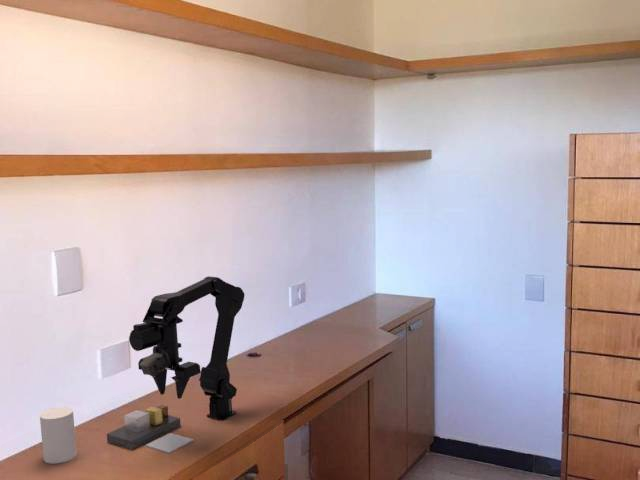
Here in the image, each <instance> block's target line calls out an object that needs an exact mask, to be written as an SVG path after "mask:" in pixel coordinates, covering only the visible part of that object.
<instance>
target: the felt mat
mask: <svg viewBox="0 0 640 480" xmlns="http://www.w3.org/2000/svg"><path fill="white" fill-rule="evenodd" d="M191 441H192V442H194V439H192V438H190V437H186V436H182V435H180V434H176V433H171V432H168V433H166V434H164V435H162V436H160V437H158V438H156V439H154V440H152V441H150V442H148V443H146V444H145V447H147V448H150V449H153V450H156V451H161V452H163V453H165V454H166V453H167V454H171V453H173V452H176V451H177V450H179V449H181V448H182V446H183V447H184V445H185V446H186V445H188V444H190V443H192V442H191ZM189 442H190V443H189ZM187 443H188V444H187ZM180 447H181V448H180Z"/></svg>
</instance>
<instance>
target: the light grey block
mask: <svg viewBox="0 0 640 480" xmlns="http://www.w3.org/2000/svg"><path fill="white" fill-rule="evenodd" d="M123 418H124V426H125V429H127V430H130V431H134V432H137V433H138V432H140V431H142V430H144V429H146V428H148V427H150V421H149V413H146V412H145V411H142V410H138V409H136V410H134V411H131V412H128V413H127V414H124V415H123Z"/></svg>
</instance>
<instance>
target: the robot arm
mask: <svg viewBox="0 0 640 480" xmlns="http://www.w3.org/2000/svg"><path fill="white" fill-rule="evenodd" d="M208 295H211V296H212V297H214V298H215V300H214V301H215V303H214V306H215V308H216V310H217V321H216V327H215V333H214V337H213V343H212V349H211V354H210V359H209V363H208V364H207V365H206V366H201V364H199V363H198V362H194V361H193V362H192V361H186V362H183V357H181V356H180V352H179V349H180V348H182V343H181V342H179V341H178V339H179V338H178V326H177V324H181V323H183V322H184V320H183V319H182V318H180V316H178V315H180V314H181V313H182V312H183V311H184V309H185V308H186V307H187V306H188V305H191V304H192V303H194V302H196V301H198V300H200V299H202V298H204V297H206V296H208ZM244 300H245V292H244V291H243V289H242V287H240V286H235V285H233V284H231V283H229V282H226V281H224V280H223V279H221V278H220V277H218V276H206V277H204V278H203V279H201V280H199V281H197V282H195V283H193V284H191V285H189V286H186V287H184V288H182V289H179V290H178V291H174V292H169V293H162V294H159V295H158V294H157V295H155V296H153V298H151V302H150V304H149V306H148V308H147V311H146V312H145V316H144V317H143V318H142V319H143V320H142V323H137V324H134V325H133V327H132V328H133V329H132V330H130V333H129V336H128V340H129V341H128V342H129V344H130V346H131V348H132V349H133V350H134V351H136V352H140V351H144V350H146V349H149V348H152V347H153V348H152V353H151V354H150V355H148V356H145V357H142V358H140V359H139V361H138V362H137V363H138V370H140V371H142V373H143V375H147V376H150V377H152V379H153V380H154V383H155V386H156V387H157V389H158V391H159V394H160V395H161V396H163V395H164V394H166V393H165V392H166V386H167V378H168V377H167V376H168V371H169V370H170V371H174V375H173V376H172V377H170V378H171V379H172V380H173V381H174V382H175V390H176V396H177V399H178V400H179V399H181V398H182V397H183V395H184V392H185V389H186V388H187V385H188V383H189V381H190V379H191V377H194V376H196V375H199V374H200V377H199V379H198V381H199V386H200V388H201V390H202V391H203V394H204V396H208V397H209V398H208V399H209V402H208V403H209V404H208V407H209V413H207V414H206V417H207V418H210V419H214V420H218V421H224V420H226V419H228V418H231V417H232V416H234V415H236V414H237V411H235V410H233V402H232V400H233V398H234V397H236V396H237V390H238V388H237V387H236V386H235V385H234V384H232V383H231V382H230V381H231V379H230V378H231V377H230V376H231V373H230V371H229V368H228V365H227V364H228V358H229V352H230V347H231V341H232V335H233V329H234V328H233V327H234V323H235V318H236V316H237V315H238V313H240V310H242V307H243V303H244ZM182 362H183V363H182ZM180 363H181V364H180Z"/></svg>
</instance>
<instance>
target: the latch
mask: <svg viewBox="0 0 640 480" xmlns="http://www.w3.org/2000/svg"><path fill="white" fill-rule="evenodd" d="M144 412H146V413H149V421H150V424H152V425H159V424H161V423H162V409H159V408H157V407H154V406H150V407H148V408H145V411H144Z"/></svg>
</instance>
